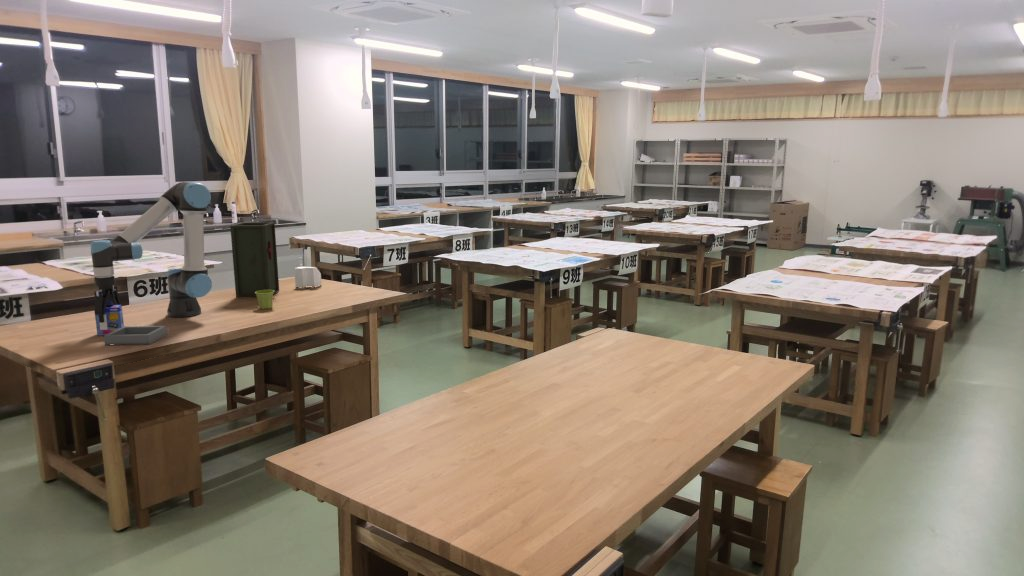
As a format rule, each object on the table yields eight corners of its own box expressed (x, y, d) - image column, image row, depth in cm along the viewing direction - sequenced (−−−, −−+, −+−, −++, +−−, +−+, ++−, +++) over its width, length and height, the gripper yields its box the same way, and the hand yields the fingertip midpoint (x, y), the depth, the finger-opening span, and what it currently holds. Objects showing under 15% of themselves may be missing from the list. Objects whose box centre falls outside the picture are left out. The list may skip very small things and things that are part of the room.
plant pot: (265, 310, 338) (264, 293, 337) (252, 308, 342) (250, 292, 341) (279, 307, 346) (278, 290, 345) (266, 305, 351) (265, 289, 349)
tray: (125, 335, 290) (124, 326, 290) (167, 334, 291) (166, 325, 290) (104, 345, 275) (103, 335, 274) (149, 344, 275) (148, 335, 275)
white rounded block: (295, 288, 400) (294, 268, 398) (306, 284, 410) (304, 265, 408) (311, 288, 397) (310, 268, 395) (321, 285, 408) (320, 266, 405)
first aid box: (247, 291, 390) (241, 222, 382) (279, 290, 391) (274, 222, 383) (236, 297, 371) (230, 225, 364) (269, 297, 372) (264, 225, 365)
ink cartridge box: (96, 336, 290) (92, 303, 287) (99, 333, 295) (95, 300, 292) (122, 333, 293) (119, 301, 290) (124, 331, 298) (121, 299, 295)
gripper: (109, 272, 300) (114, 320, 304) (80, 280, 278) (87, 333, 282) (126, 272, 300) (131, 320, 304) (99, 280, 278) (105, 332, 283)
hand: (110, 326), depth 293 cm, fingers open, 9 cm apart
